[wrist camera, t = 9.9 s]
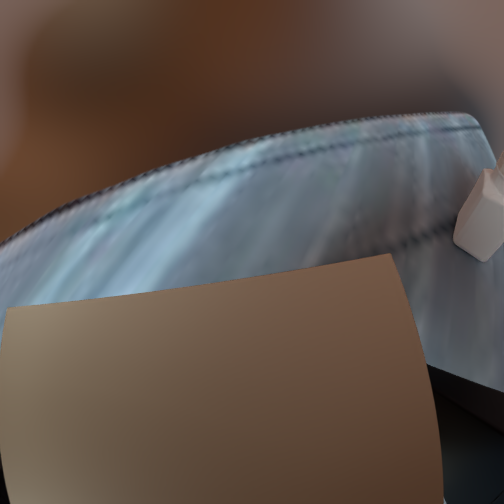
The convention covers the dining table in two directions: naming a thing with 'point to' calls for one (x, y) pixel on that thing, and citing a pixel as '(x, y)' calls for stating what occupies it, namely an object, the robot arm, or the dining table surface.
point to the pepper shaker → (483, 215)
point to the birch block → (223, 394)
